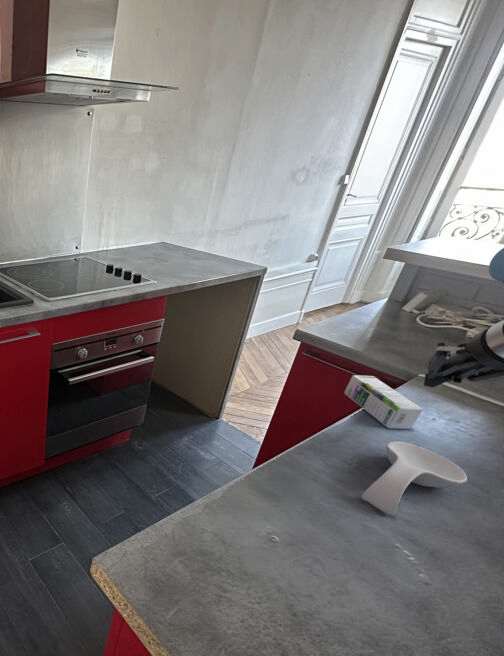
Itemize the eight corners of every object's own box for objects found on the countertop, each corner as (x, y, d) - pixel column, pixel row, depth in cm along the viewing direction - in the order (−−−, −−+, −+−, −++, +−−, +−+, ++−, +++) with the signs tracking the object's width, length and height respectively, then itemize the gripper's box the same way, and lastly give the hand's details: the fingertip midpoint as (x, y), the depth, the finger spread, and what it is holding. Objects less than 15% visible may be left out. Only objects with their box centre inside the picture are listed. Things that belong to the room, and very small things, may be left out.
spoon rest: (391, 447, 88) (408, 420, 85) (465, 484, 79) (487, 456, 76) (339, 487, 77) (355, 458, 74) (418, 535, 68) (441, 504, 65)
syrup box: (387, 428, 94) (341, 393, 107) (412, 429, 94) (363, 393, 107) (399, 408, 92) (350, 374, 105) (425, 409, 92) (373, 375, 105)
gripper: (459, 352, 72) (389, 387, 93) (566, 373, 67) (466, 406, 88) (464, 315, 74) (394, 357, 95) (568, 332, 69) (469, 373, 89)
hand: (428, 381), depth 91 cm, fingers closed
